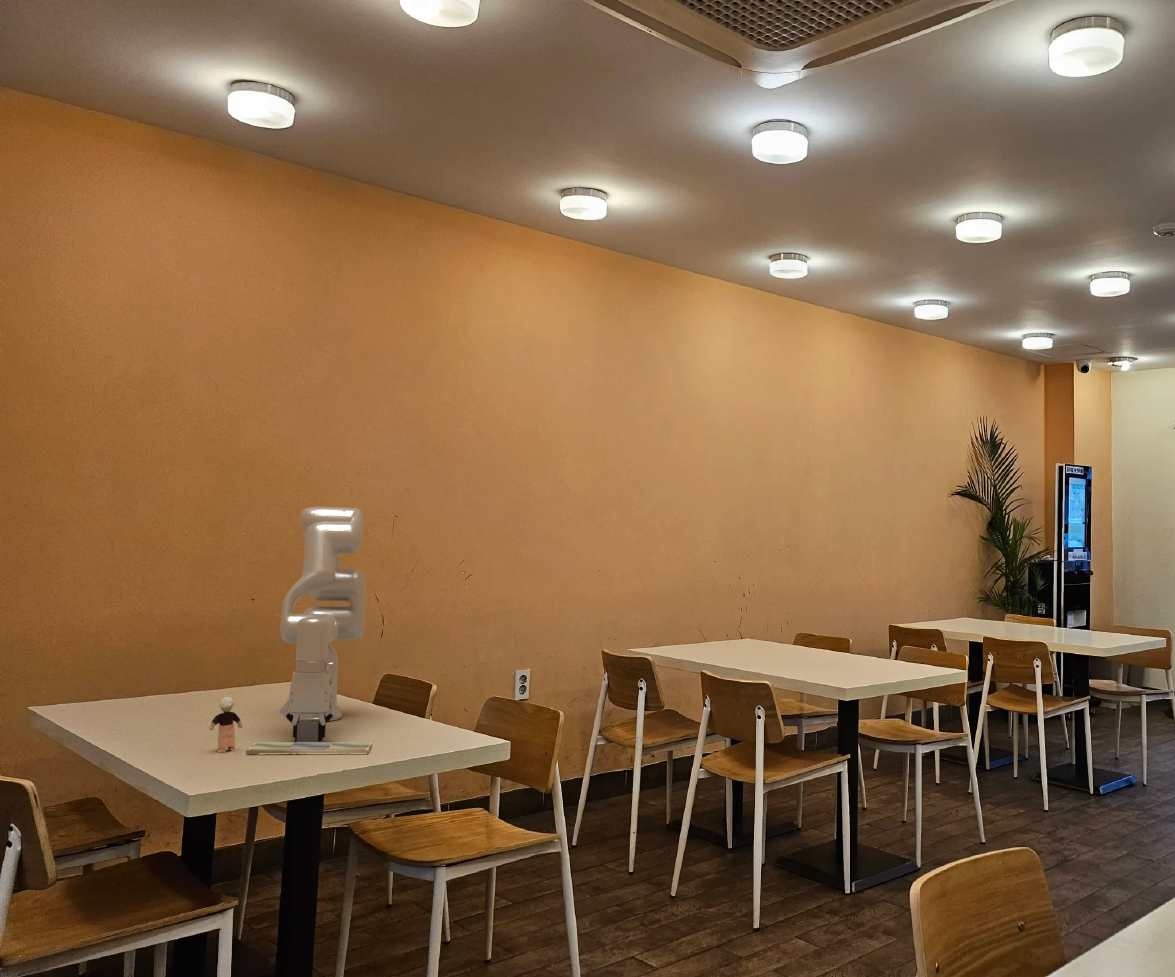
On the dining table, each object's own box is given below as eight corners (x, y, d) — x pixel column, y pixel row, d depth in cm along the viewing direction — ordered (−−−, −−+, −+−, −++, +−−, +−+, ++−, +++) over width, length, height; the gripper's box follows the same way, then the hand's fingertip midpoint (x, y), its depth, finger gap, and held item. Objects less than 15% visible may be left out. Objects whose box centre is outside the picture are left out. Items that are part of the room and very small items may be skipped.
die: (300, 739, 241) (301, 719, 241) (320, 739, 241) (321, 719, 241) (296, 744, 236) (297, 723, 236) (317, 744, 236) (318, 723, 236)
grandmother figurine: (234, 747, 231) (236, 694, 232) (243, 749, 229) (245, 696, 230) (204, 752, 225) (207, 697, 226) (213, 754, 223) (215, 699, 224)
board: (254, 746, 232) (255, 741, 232) (372, 746, 235) (372, 741, 235) (245, 755, 223) (246, 749, 223) (367, 754, 226) (367, 749, 226)
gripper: (348, 665, 244) (345, 737, 243) (279, 664, 242) (277, 737, 241) (344, 669, 236) (341, 743, 236) (273, 669, 235) (270, 744, 234)
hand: (308, 739), depth 238 cm, fingers closed on die, 4 cm apart
